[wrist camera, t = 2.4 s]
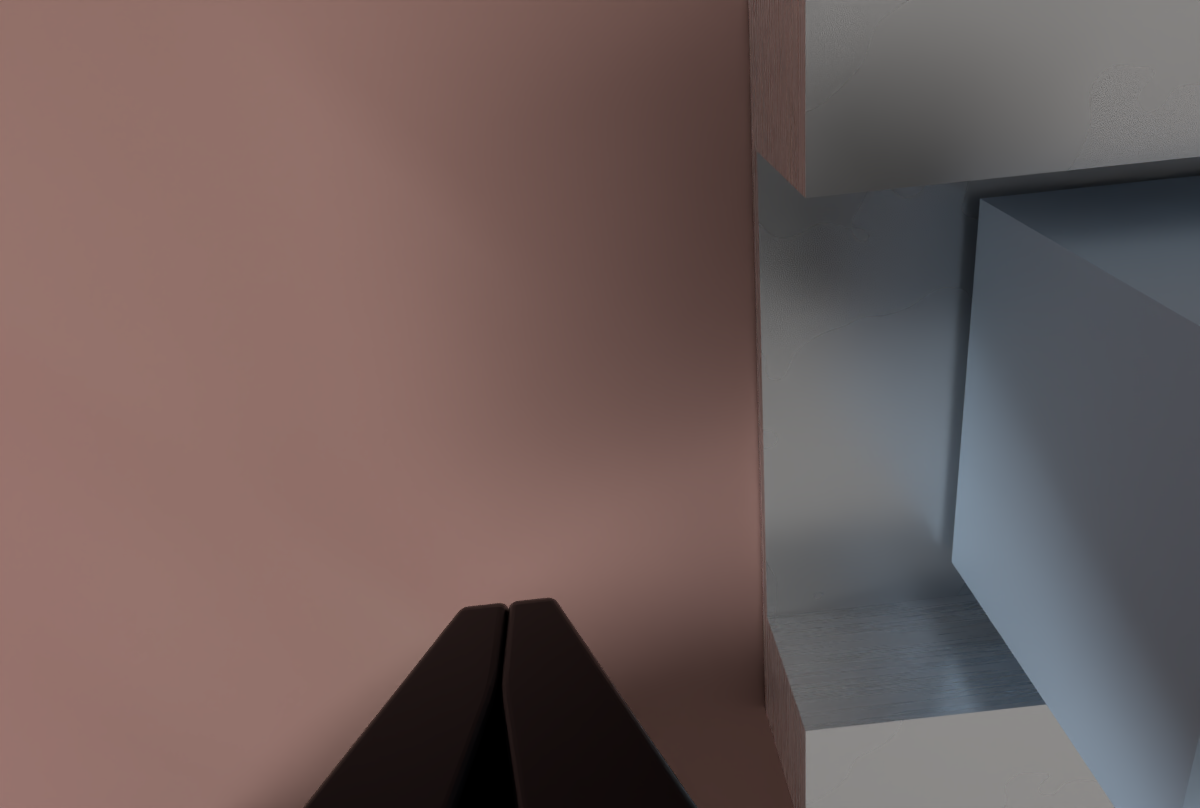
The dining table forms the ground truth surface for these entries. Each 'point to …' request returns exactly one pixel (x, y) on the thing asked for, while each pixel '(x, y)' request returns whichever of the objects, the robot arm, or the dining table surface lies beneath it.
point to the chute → (915, 360)
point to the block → (1092, 469)
